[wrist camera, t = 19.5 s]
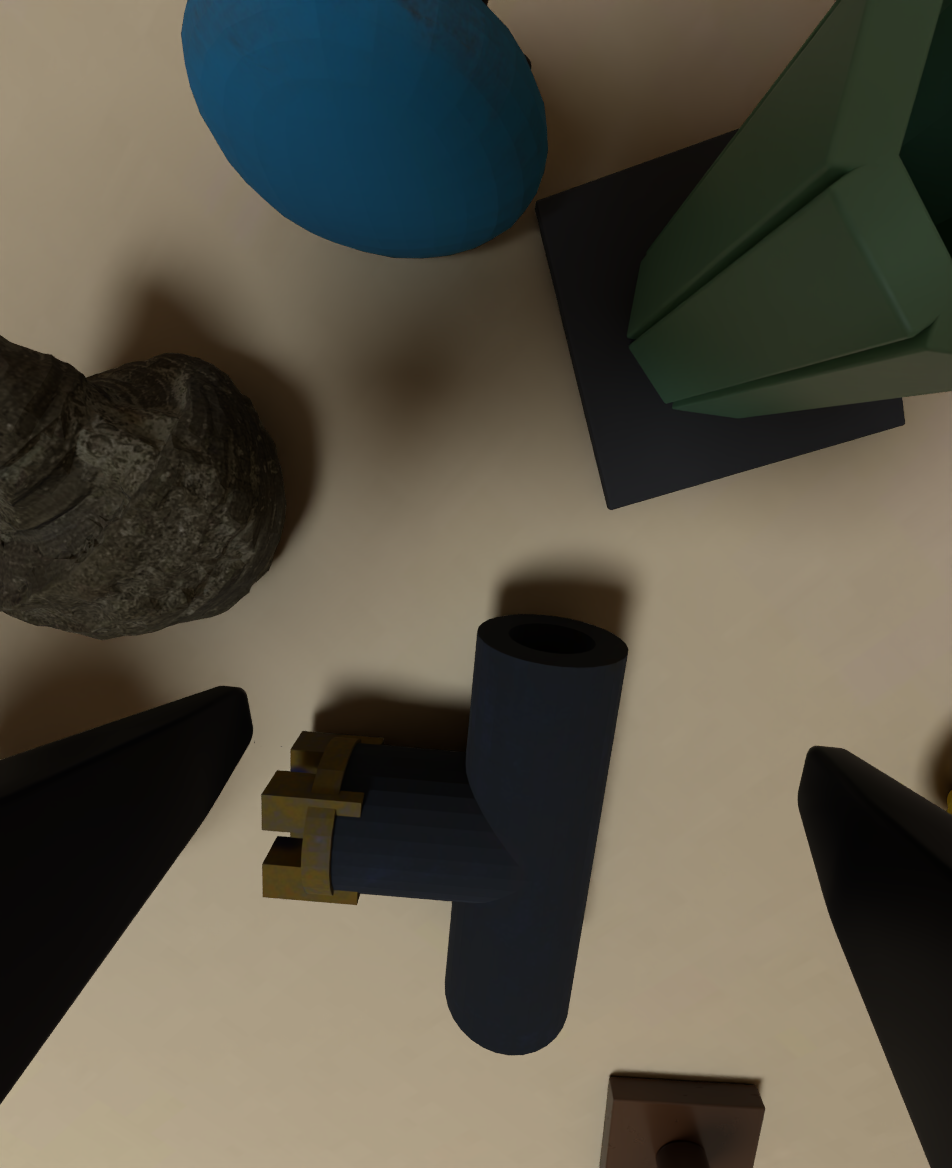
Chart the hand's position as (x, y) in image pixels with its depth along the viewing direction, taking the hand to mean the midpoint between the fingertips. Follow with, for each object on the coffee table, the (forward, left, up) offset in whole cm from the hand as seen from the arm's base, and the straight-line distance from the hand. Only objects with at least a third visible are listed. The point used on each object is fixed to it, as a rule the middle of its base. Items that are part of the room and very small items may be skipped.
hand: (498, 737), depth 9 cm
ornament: (+1, +13, -12) cm, 17 cm away
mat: (+9, +6, -12) cm, 16 cm away
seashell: (-11, +5, -12) cm, 17 cm away
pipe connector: (-5, -8, -12) cm, 15 cm away
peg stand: (0, -30, -12) cm, 32 cm away
